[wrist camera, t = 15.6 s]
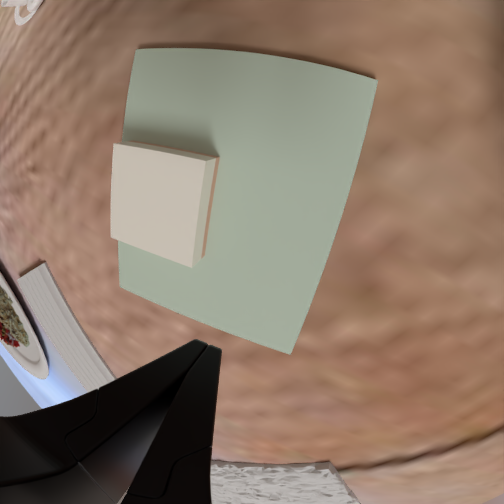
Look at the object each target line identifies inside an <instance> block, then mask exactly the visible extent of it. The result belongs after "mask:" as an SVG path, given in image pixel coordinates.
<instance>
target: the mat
mask: <svg viewBox="0 0 504 504" xmlns="http://www.w3.org/2000/svg"><path fill="white" fill-rule="evenodd" d="M377 83H378V80H375V79H372V78H369V77H366V76H362V75H359V74H355V73H352V72H348V71H345V70H341V69H337V68H333V67H329V66H325V65H320V64H316V63H311V62H307V61H302V60H296V59H291V58H285V57H279V56H273V55H266V54H259V53H251V52H242V51H231V50H218V49H199V48H152V49H136V52H135V57H134V62H133V67H132V72H131V78H130V84H129V90H128V97H127V104H126V111H125V119H124V127H123V137H122V142H125V141H131V140H134V141H140V142H146V143H152V144H158V145H163V146H169V147H174V148H179V149H184V150H189V151H194V152H199V153H204V154H209V155H213V156H218V157H220V160H219V165H218V171H217V177H216V183H215V189H214V196H213V202H212V208H211V215H210V222H209V229H208V235H207V243H206V250H205V256H204V257H203V258H202V259H200V260H199V261H198V262H197V263H196V264H195V265H194V266H193V267H192V268H191V267H188V266H185V265H182V264H180V263H177V262H174V261H172V260H169V259H166V258H163V257H161V256H158V255H155V254H153V253H150V252H147V251H145V250H142V249H140V248H137V247H134V246H132V245H129V244H127V243H124V242H121V241H119V240H118V258H119V280H120V287H121V288H123V289H125V290H127V291H130V292H132V293H134V294H136V295H138V296H141V297H143V298H145V299H147V300H149V301H152V302H154V303H156V304H159V305H161V306H163V307H165V308H168V309H170V310H172V311H175V312H177V313H180V314H182V315H184V316H187V317H189V318H192V319H194V320H197V321H199V322H202V323H204V324H207V325H209V326H212V327H214V328H217V329H220V330H222V331H225V332H227V333H230V334H233V335H235V336H238V337H241V338H244V339H246V340H249V341H252V342H255V343H258V344H260V345H263V346H266V347H269V348H272V349H275V350H278V351H281V352H284V353H287V354H290V355H291V352H292V350H293V348H294V345H295V343H296V340H297V338H298V335H299V333H300V330H301V328H302V325H303V323H304V320H305V318H306V315H307V313H308V310H309V307H310V305H311V302H312V300H313V297H314V294H315V292H316V289H317V286H318V283H319V281H320V278H321V275H322V272H323V270H324V267H325V264H326V261H327V258H328V255H329V253H330V250H331V247H332V244H333V241H334V238H335V235H336V232H337V229H338V226H339V223H340V219H341V216H342V213H343V210H344V207H345V204H346V200H347V197H348V194H349V191H350V187H351V184H352V180H353V177H354V174H355V170H356V167H357V163H358V159H359V156H360V152H361V148H362V145H363V141H364V137H365V133H366V129H367V125H368V121H369V117H370V113H371V109H372V105H373V101H374V96H375V92H376V88H377Z"/></svg>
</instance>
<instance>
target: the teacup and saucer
mask: <svg viewBox="0 0 504 504" xmlns="http://www.w3.org/2000/svg"><path fill="white" fill-rule="evenodd" d="M42 2H43V0H2V3H1V5H2V7H13V6H16V9H15V22H16V24H17V25H23V24H25V23H26V22H27V21H28V20H29V19H30V18H31V17H32V16H33V15H34V13H35V12H36V11H37V9H38V8H39V6H40V5H41V3H42ZM25 5H27V10H28V11H32V12H31V13H30V14H29V15H28V16H26V17H24V18H21V17H20V15H19V7H20V6H25Z"/></svg>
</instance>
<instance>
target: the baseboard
mask: <svg viewBox="0 0 504 504" xmlns="http://www.w3.org/2000/svg"><path fill="white" fill-rule="evenodd" d="M17 281H18V283H19V285H20V287H21V289H22V291H23V293H24V295H25V297H26V299H27V301H28V303H29V304H30V306H31V308H32V310H33V312H34V313H35V315H36V317H37V319H38V320H39V322H40V324H41V325H42V327H43V329H44V330H45V332H46V334H47V335H48V337H49V338H50V340H51V341H52V343H53V345H54V346H55V348H56V349H57V351H58V352H59V354H60V355H61V356H62V358H63V359H64V361H65V362H66V364H67V365H68V366H69V368H70V369H71V371H72V372H73V373H74V375H75V376H76V377H77V379H78V380H79V381H80V383H81V384H82V385H83V387H84V388H85V389H86V390H87V392H90V391H92V390H95V389H98V390H99V387H101V386H103V385H105V384H107V383H109V382H112V381H114V380H116V379H117V378H116V376H115V375H114V374H113V372H112V371H111V370H110V368H109V367H108V365H107V364H106V363H105V361H104V360H103V358H102V357H101V355H100V354H99V353H98V351H97V350H96V348H95V347H94V345H93V344H92V342H91V341H90V339H89V337H88V336H87V334H86V333H85V331H84V330H83V328H82V326H81V325H80V323H79V321H78V320H77V318H76V316H75V315H74V313H73V311H72V310H71V308H70V306H69V304H68V303H67V301H66V299H65V297H64V296H63V294H62V292H61V290H60V288H59V286H58V284H57V282H56V281H55V279H54V277H53V275H52V273H51V271H50V269H49V267H48V265H47V262H45V263H43V264H41V265H40V266H38V267H36V268H35V269H33V270H32V271H30V272H28V273H27V274H25V275H24V276H22V277H21V278H19V279H18V280H17Z"/></svg>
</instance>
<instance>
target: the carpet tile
mask: <svg viewBox="0 0 504 504" xmlns="http://www.w3.org/2000/svg"><path fill="white" fill-rule="evenodd" d="M210 480H211V498H212V504H361V503H360V502H359V501H358V499H357V497H356V496H355V495H354V493H353V492H352V491H351V490H350V489H349V487H348V486H347V485H346V483H345V482H344V480H343V479H342V478H341V476H340V475H339V473H338V472H337V470H336V469H335V467H334V466H333V465H332V463H331V462H324V463H302V464H254V463H233V462H223V461H212V460H211V474H210Z"/></svg>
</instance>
